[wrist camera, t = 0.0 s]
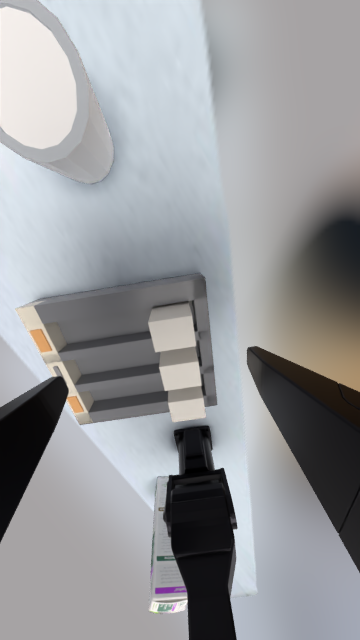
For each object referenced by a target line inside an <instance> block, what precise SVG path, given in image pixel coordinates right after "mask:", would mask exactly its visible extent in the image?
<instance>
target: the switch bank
mask: <svg viewBox="0 0 360 640" xmlns="http://www.w3.org/2000/svg"><path fill="white" fill-rule="evenodd" d="M184 301H188V302H189V306H190V310H191V313H192V319H193V326H194V333H195V341H196V346H195V348H196V353H197V358H198V363H199V370H200V377H201V385H202V386H201V389H202V394H203V399H204V407H208V406H215V405H217V397H216V386H215V376H214V365H213V355H212V345H211V334H210V324H209V313H208V303H207V292H206V282H205V277H204V276H203V275H202V274H201V273H197V274H191V275H185V276H178V277H172V278H166V279H160V280H154V281H148V282H142V283H135V284H129V285H123V286H117V287H111V288H105V289H99V290H92V291H86V292H80V293H74V294H68V295H62V296H56V297H50V298H43V299H38V300H35V301H33V302H31V303H28V304H26V305H23V306H21V307H19V308H16V309H15V310H16V312H17V313H18V315H19V317H20V319H21V320H22V322H23V324H24V326H25V328H26V329H27V331H28V333H29V335H30V337H31V338H32V340H33V342H34V344H35V346H36V347H37V349H38V351H39V353H40V355H41V356H42V358H43V360H44V362H45V363H46V365H47V367H48V369H49V371H50V372H51V374H52V376H53V377H56V376H61V377H63V379H64V381H65V383H66V385H67V386H68V389H69V394H68V396H67V399H66V401H67V403H68V405H69V406H70V408H71V410H72V412H73V414H74V415H75V417H76V419H77V421H78V423H79V424H80V425H83V424H90V423H97V422H104V421H111V420H117V419H124V418H131V417H138V416H145V415H152V414H159V413H166V412H170V410H169V405H168V391H165V389H164V385H163V381H162V377H161V373H160V369H159V363H160V354H161V352H155V349H154V345H153V341H152V337H151V333H150V329H149V325H148V321H149V318H150V314H151V311H152V308H153V306H159V305H166V304H172V303H178V302H184Z"/></svg>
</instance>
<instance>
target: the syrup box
mask: <svg viewBox="0 0 360 640" xmlns="http://www.w3.org/2000/svg"><path fill="white" fill-rule="evenodd" d="M168 481H169V477H158V479H157V484H156V490H155V505H154V522H153V540H152V559H151V578H150V596H149V612H151V613H159V614H168V613H174V612H179V611H184V610H185V606H186V604H187V603H188V600H187V590H186V587H185V585H184V582H183V579H182V577H181V574H180V571H179V568H178V566H177V563H176V560H175V557H174V555H173V552H172V549H171V537H170V538H169V537H168V532H167V527H166V523H165V522H164V520H163V512H164V506H165V501H166V493H167V482H168Z"/></svg>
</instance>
